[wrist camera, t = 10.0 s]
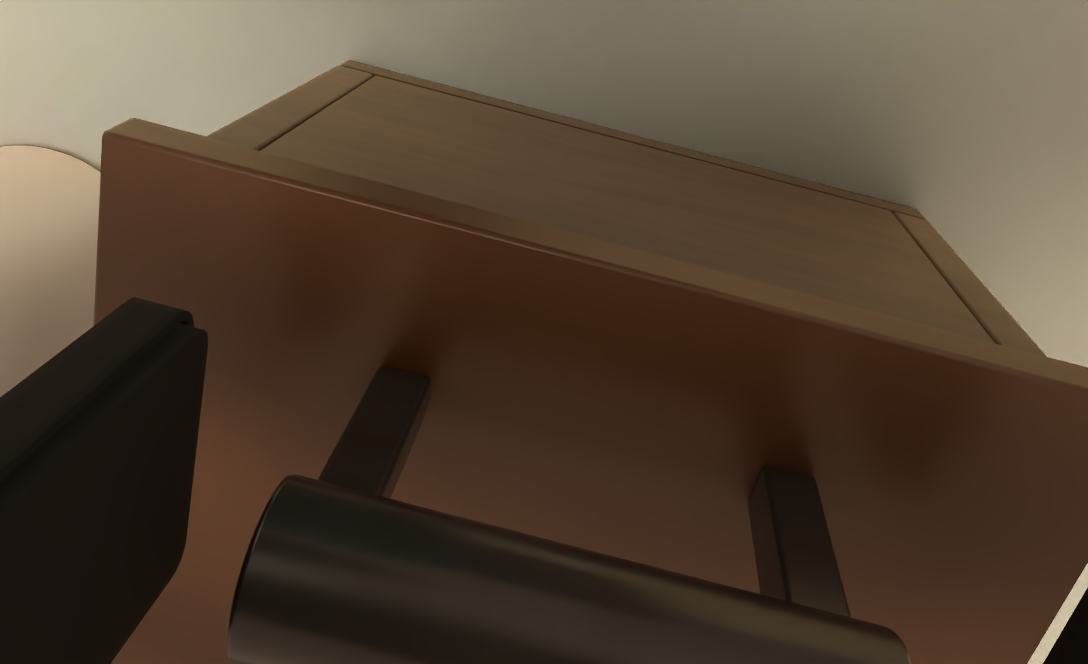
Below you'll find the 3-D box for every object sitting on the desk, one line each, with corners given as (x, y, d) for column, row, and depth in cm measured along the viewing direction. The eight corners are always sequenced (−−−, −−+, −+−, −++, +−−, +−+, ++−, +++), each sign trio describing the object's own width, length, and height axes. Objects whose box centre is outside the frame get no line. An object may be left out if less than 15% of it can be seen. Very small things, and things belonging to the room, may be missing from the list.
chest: (347, 58, 22) (148, 165, 13) (919, 209, 23) (1100, 414, 14) (260, 607, 29) (84, 930, 20) (708, 722, 29) (736, 1095, 20)
